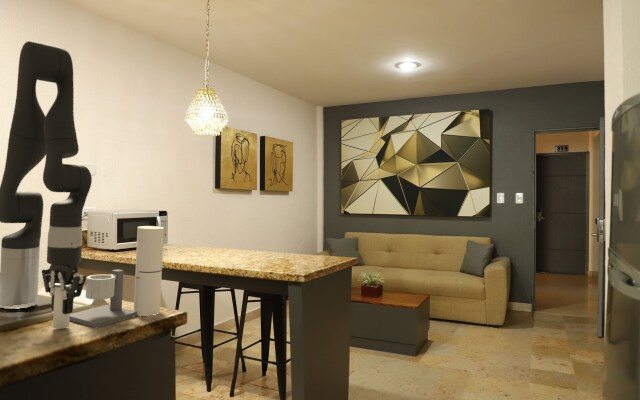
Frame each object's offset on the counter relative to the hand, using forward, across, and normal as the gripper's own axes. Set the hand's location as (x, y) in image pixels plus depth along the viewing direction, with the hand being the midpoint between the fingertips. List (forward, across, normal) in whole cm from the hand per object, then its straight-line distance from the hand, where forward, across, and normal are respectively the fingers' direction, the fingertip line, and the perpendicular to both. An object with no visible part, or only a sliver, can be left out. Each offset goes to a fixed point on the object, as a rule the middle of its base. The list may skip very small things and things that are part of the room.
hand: (61, 311), depth 113 cm
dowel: (+4, 0, 0) cm, 4 cm away
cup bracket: (+4, 0, +12) cm, 13 cm away
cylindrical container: (+5, +6, +22) cm, 23 cm away
